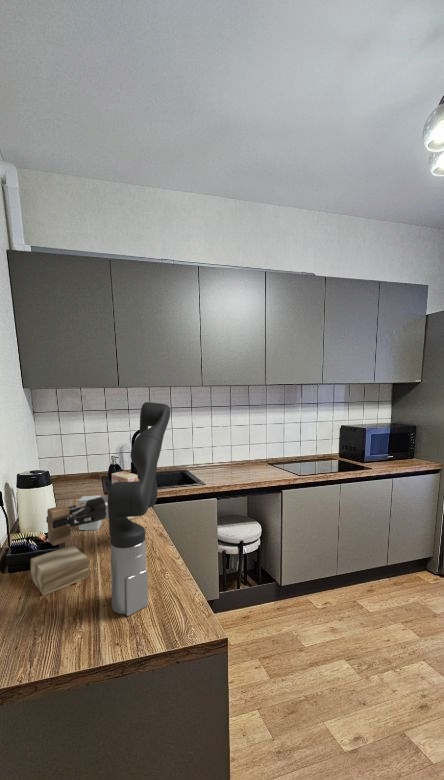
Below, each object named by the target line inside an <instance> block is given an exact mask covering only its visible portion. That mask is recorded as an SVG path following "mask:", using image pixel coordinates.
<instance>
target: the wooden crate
mask: <svg viewBox="0 0 444 780" xmlns="http://www.w3.org/2000/svg"><path fill="white" fill-rule="evenodd" d="M90 562H91V561H90V559H89V557H87V555H85V554H84V553H83V552H82V551H81V550H79V549H78V548H77V547H76V546H74V545H73V544H71V545H68V546H66V547H62V548H59V549H56V550H53V551H49V552H47V553H44V554H40V555H37V556H35V557H31V558H30V579H31V581H32V582H33V583H34V585H35V586H36V587H37V589H38V590H39V592H40V593H41V594H42V596H47V595H49V594H51V593H54V592H55V591H58V590H60V589H63V588H65V587H68V586H71V585H73V584H75V583H79V582H80V581H82V580H85V579H87V578H89V575H90V574H91V570H90V568H89V566H90V565H91V563H90Z"/></svg>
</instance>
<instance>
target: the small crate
mask: <svg viewBox="0 0 444 780" xmlns="http://www.w3.org/2000/svg"><path fill="white" fill-rule="evenodd" d="M68 507H69V506H66V505H65V504H63V505H59V506H58V505H57V506H54V507H50V508H48V509H47V511H46V512H47V513H46V514H47V516H48V523H47V539H48V541H47V542H49V543H50V545H52V546H57V545H60V544H63V543H66V542H69V541H71V534H72V532H71V527H70V525H69V526H66V525H65V526H61V527H58V528H53V527H52V522H53V521H55V520H58V519H62V518H66V517H68V516H71V515H70V511H69V508H68Z"/></svg>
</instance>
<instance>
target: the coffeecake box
mask: <svg viewBox="0 0 444 780" xmlns="http://www.w3.org/2000/svg"><path fill="white" fill-rule="evenodd" d="M132 481H139V479H138V477H137V474H135V473H132V472H129V471H125V470H123V471H122V470H121V471H117V472H113V473H111V485H112V484H113V483H115V482H132ZM135 517H138V516H135ZM135 517H134V516H133V517H127V518H128V519H131V520H133V519H132V518H135ZM138 518H139V517H138ZM135 519H136V518H135Z"/></svg>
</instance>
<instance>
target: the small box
mask: <svg viewBox="0 0 444 780" xmlns="http://www.w3.org/2000/svg"><path fill="white" fill-rule="evenodd" d="M99 497H102V495H83V496H81V498H80V499H78V500H77V507H79V506H82V507H84V506H85V505H86V502H87V501H88V500H91V499H95V498H99ZM102 522H103V521H102V520H99V521H96V522H93V523H91V522H90V523H87V524H82V525H78V531H79V530H85V531H96V530H97V531H98V530H99V529H100V527H101V526H102ZM100 525H101V526H100Z"/></svg>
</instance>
